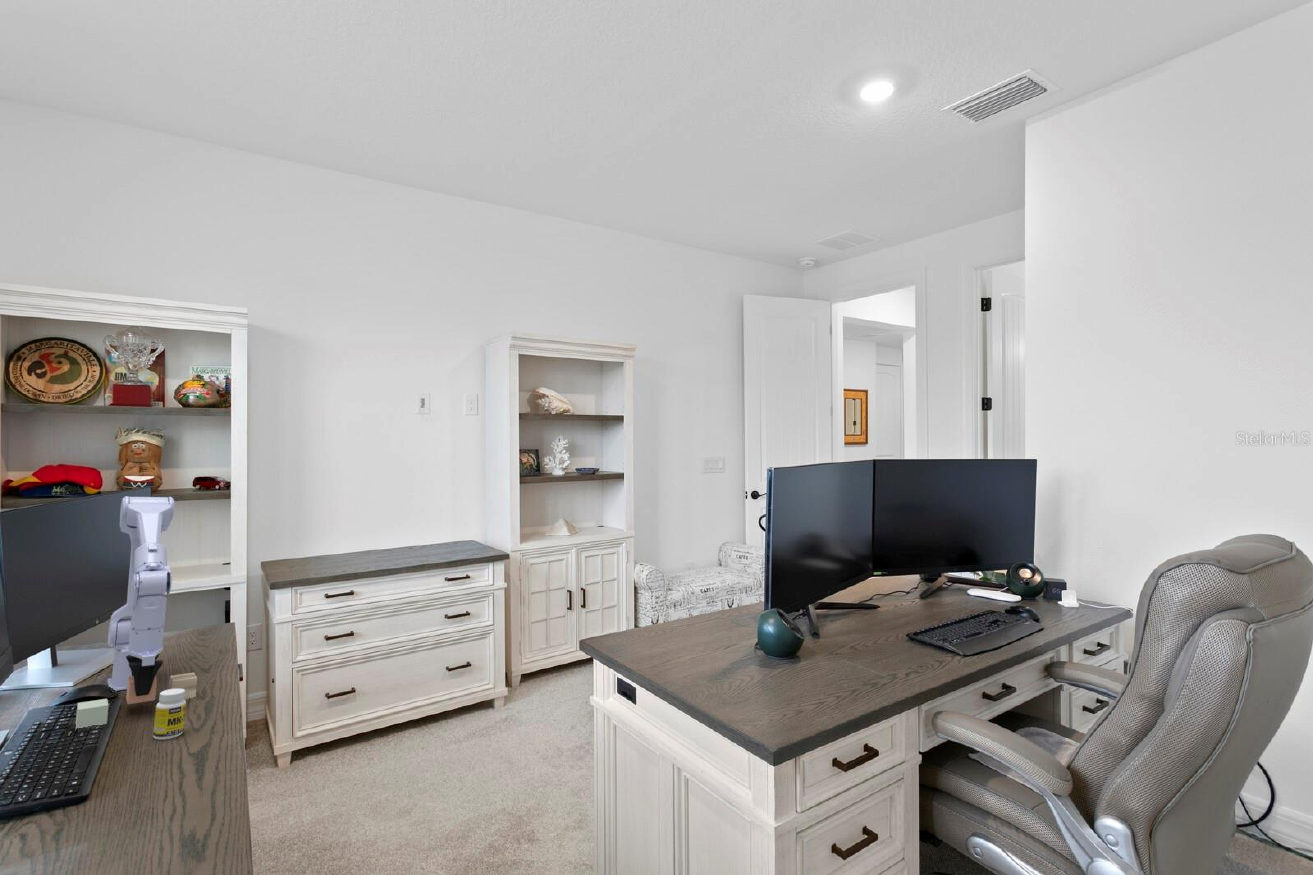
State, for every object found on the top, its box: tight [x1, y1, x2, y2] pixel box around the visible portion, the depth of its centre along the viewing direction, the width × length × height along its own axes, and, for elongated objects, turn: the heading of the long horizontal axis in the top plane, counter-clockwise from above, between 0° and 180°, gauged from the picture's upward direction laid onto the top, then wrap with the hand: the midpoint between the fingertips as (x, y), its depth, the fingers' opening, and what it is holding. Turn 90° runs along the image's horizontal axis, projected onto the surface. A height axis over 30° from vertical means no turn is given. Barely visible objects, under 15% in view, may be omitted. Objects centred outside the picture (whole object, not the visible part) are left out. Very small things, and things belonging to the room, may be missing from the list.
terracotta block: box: [125, 675, 158, 705], centre depth 139 cm, size 4×4×4 cm
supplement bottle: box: [152, 688, 187, 741], centre depth 127 cm, size 5×5×8 cm
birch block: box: [168, 672, 198, 700], centre depth 147 cm, size 4×4×4 cm
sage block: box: [75, 698, 110, 730], centre depth 129 cm, size 4×4×4 cm
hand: (141, 691), depth 138 cm, fingers closed on terracotta block, 4 cm apart
